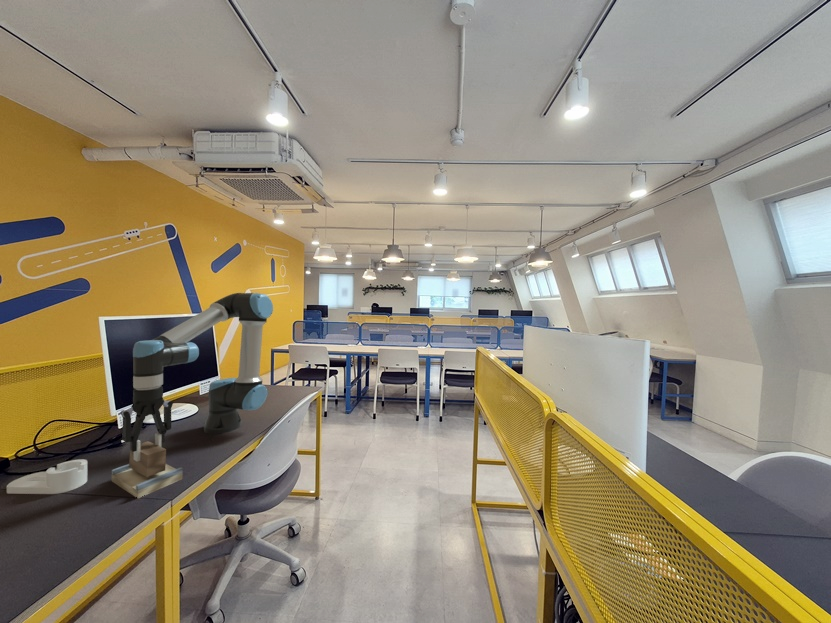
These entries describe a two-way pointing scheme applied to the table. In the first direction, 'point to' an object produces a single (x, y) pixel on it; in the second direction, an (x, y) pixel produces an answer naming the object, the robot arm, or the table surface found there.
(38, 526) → the table surface
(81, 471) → the white elongated piece
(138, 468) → the brown boxy block
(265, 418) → the table surface
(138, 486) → the cream tray
